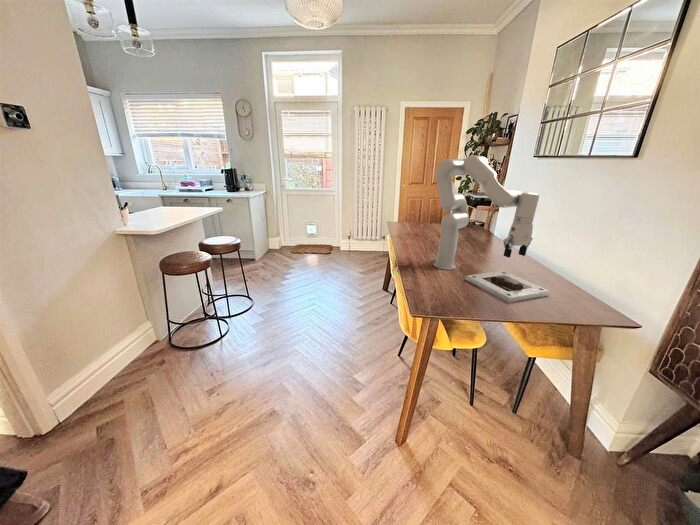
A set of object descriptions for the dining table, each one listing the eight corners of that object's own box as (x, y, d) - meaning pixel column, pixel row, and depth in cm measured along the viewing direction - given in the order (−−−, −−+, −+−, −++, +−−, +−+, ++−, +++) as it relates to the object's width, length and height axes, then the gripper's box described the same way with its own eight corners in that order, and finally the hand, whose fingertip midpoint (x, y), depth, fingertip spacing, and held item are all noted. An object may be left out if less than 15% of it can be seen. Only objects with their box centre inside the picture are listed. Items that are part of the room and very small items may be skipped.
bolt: (491, 285, 143) (518, 296, 130) (486, 281, 140) (513, 293, 127) (497, 275, 142) (525, 286, 129) (492, 272, 140) (520, 282, 127)
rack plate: (465, 279, 143) (466, 275, 142) (502, 274, 152) (503, 270, 151) (508, 302, 120) (509, 297, 119) (548, 295, 129) (550, 290, 128)
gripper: (516, 222, 118) (507, 259, 124) (544, 221, 124) (534, 256, 129) (502, 219, 124) (494, 254, 130) (528, 218, 130) (520, 252, 136)
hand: (514, 255), depth 130 cm, fingers open, 9 cm apart
